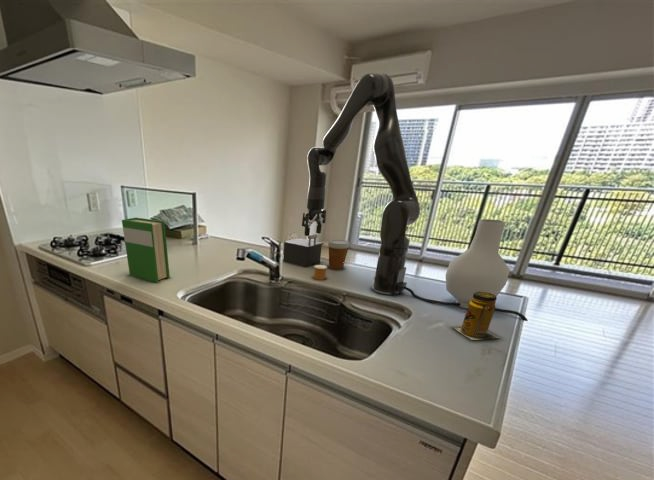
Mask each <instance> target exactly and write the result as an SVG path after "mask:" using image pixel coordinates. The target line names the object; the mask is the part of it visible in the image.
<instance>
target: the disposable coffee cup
mask: <svg viewBox="0 0 654 480" xmlns="http://www.w3.org/2000/svg"><path fill="white" fill-rule="evenodd" d="M327 246H328V268H329V269H331V270H342V269H344V267H345V262H346V258H347V255H348V251H349V248H350V246H351V244H350V241H349V240H345V239H330V240H329V241H328V243H327ZM343 262H344V263H343Z"/></svg>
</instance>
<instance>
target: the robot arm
mask: <svg viewBox="0 0 654 480" xmlns="http://www.w3.org/2000/svg"><path fill="white" fill-rule="evenodd" d="M396 103H397V102H396V92H395V84H394V81H393V78H392V77H391V76H390V75H389V74H387V73H384V72H369V73H365V74H364V75H363V76H362V77H361V78H360V79H359V80H358V82H357V83H356V85H355V86H354V88H353V90H352V92H351V94H350V96H349V97H348V99H347V101H346V103H345V105H344V106H343V108H342V111H341V112H340V114H339V115H338V117H337V119H336V120H335V122H334V123H333V124H332V126H331V128H330V129H329V130H328V131H327V133H326V134H325V136H324V137H323V139H322V145H323V146H314V147H312V148H311V149H309V151H308V153H307V158H306V160H307V167H308V168H307V169H308V174H309V182H308V184H309V185H308V191H307V198H306V199H307V200H306V209H307V210H308V211H307V212H305V211H303V213H302V219H301V226H302V227H304V236H305V237H308V236H309V235H311V234H310V233H311V226H312V224H314V222H316V230H315V234H322V226H323V225H324V224H326V220H327V219H326V218H327V210H326V209H324V208H325V202H326V192H327V191H326V190H327V189H326V185H327V173H326V172H325V171H321V169H320V167H321V166H327V165H329V164H330V163H332V161H333V160H334V159H335V156H336V153H337V151H338V149H339V148H340V146H341V145H342V144H343V143H344V142H345V141H346V139H347V138H348V136H349V134H350V133H351V130H352V126H353V122H354V120H355V118H356V117H357V115H358V114H359V113H360V112H361V111H362V110H363V109H364V108H365V107H373V108H374V111H375V116H376V121H377V123H376V125H377V127H376V132H375V135H374V138H373V144H372V149H373V155H374V159H375V160H374V161H375V164H376V166H377V167H376V168H377V169H378V171H379V173H380V174H381V176H382V177H383V179H384V180H385V182H386V183H387V185H388V186H389V188H390V191H391V194H392V199H393V200H391V201H389V202H388V203H387V204H386V205H385V207H384V209H383V212H382V215H381V222H380V229H379V230H380V231H379V238H380V246H379V250H378V251H379V252H378V258H377V263H376V267H375V273H374V277H373V285H372V291H373V292H375V293H377V294H380V295H386V296H387V295H389V296H396V295H398V294H399V293H403V291H407V292H409V293H410V294H411V296H412V297H414V298H415V299H418V300H420V301H422V302H423V301H424V302H427V303H432V304H437V305H443V306H456V307H460V303H456V302H448V301H440V300H435V299H430V298H429V299H428V298H424V297H421V296H419V295H417V294H415V293H414V290H413V289H411V288H409V287H407V282H405V276H406V272H407V267H406V266H405V265H406V261H407V255H408V252H409V247H410V242H411V240H410V238H409V237H408V236H407V227H408V226H410V225H413V224H414V223H416V222H417V221H418V219H419V218H420V216H421V215H420V214H421V206H420V202H419V199H418V196H417V193H416V190H415V188H414V185H413V181H412V176H411V172H410V168H409V164H408V160H407V153H406V148H405V144H404V140H403V136H402V132H401V131H402V130H401V128H400V127H401V126H400V122H399V117H398V111H397V104H396ZM494 312H499V313H504V314H505V313H506V314H512V315H516V316H518V317H520V318H521V319H522V321H524V322H529V321H528V318H527V317H526V316H525V315H524V314H523V313H521V312H520V311H519V312H518V311H516V310H511V309H503V308H498V307H495V310H494Z"/></svg>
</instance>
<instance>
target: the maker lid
mask: <svg viewBox="0 0 654 480" xmlns="http://www.w3.org/2000/svg"><path fill="white" fill-rule="evenodd" d="M317 238H318V233H314V234H310V235H309V236H307V239H306V238H301V237H298V238H294V239H290V240H286V241H284V242H283V244H284V243H285V244H289V245H294V246H298V247H303V248H312V247H316V246H319V245H322V246H323V245H324V242H322V241H321V242H320V241H317Z"/></svg>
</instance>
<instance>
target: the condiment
mask: <svg viewBox="0 0 654 480" xmlns="http://www.w3.org/2000/svg"><path fill="white" fill-rule="evenodd" d="M497 299H498V298H497V297H496V296H495V295H493V294H491V293H486V292H475V293H474V294H473V298H472V301H470V302H469V305H468V308H466V312H465V315H464V318H463V322H462V324H461V327H457V328H456V327H454V328H453V329H454V330H456V331H457V332H458V333H460V334H461V335H463V336H464V337H466V338H467V339H469V340H471V341H478V340H480V341H481V340H491V339H492V340H493V339H501V337H500V336H497V335H495V334H493V333H492V332H490V331H488V330H489V328H490V324H491V322H492V319H493V316H494V314H495V311H494V310H495V308H496V302H497Z"/></svg>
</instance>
